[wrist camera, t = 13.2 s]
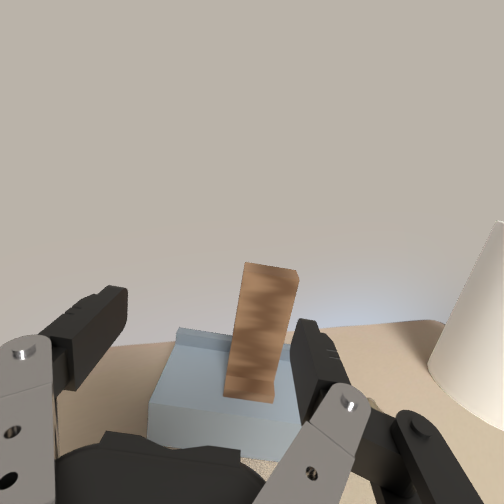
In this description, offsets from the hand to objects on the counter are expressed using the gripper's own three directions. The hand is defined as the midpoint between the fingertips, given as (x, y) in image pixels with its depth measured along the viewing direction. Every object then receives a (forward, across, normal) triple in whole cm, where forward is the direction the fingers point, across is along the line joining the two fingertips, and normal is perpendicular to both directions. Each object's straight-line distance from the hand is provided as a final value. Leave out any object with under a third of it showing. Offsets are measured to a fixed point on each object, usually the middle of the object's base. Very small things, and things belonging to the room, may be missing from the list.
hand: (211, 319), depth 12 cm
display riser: (+13, -5, +23) cm, 27 cm away
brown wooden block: (+13, -5, +17) cm, 22 cm away
